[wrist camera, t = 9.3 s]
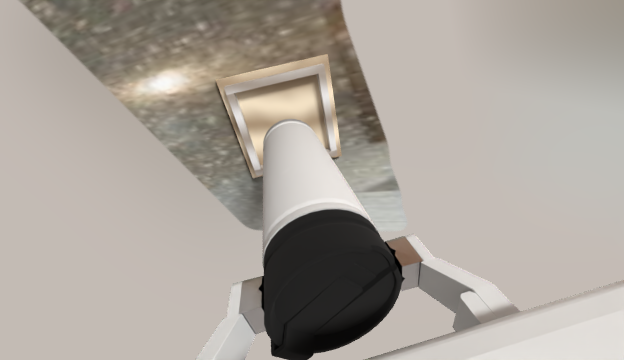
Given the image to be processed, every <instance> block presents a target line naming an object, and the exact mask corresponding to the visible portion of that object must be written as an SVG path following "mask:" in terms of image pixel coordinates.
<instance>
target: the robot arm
mask: <svg viewBox="0 0 624 360" xmlns="http://www.w3.org/2000/svg"><path fill="white" fill-rule="evenodd" d="M385 244H386V245H387V247H388V249H389V250H390V252H391V253H392V255H393V257H394V260H395V264H396V265H397V267H398V269H399V272H400V274H401V277H402V284H401V290H402V291H403V290H407V289H411V288H415V287H418V286H419V288H420V289H422V290H423V291H424V292H426V293H427V294H429V295H430V296H432V297H433V298H434V299H436V300H437V301H439V302H440V303H442V304H443V305H444V306H446V307H447V308H449V309H450V310H451V311H453V312H454V313H456V316H455V320H454V324H453V328H454V330H455V331H456V332H453V333H450V334H446V335H443V336H440V337H437V338H434V339H430V340H427V341H424V342H420V343H417V344H414V345H410V346H408V347H404V348H401V349H397V350H394V351H391V352H388V353H384V354H381V355H378V356H375V357H371V358H368V359H365V360H624V280H622V281H619V282H616V283H613V284H609V285H606V286H603V287H599V288H597V289H593V290H590V291H586V292H583V293H580V294H577V295H573V296H570V297H567V298H564V299H561V300H557V301H554V302H551V303H547V304H544V305H541V306H538V307H534V308H531V309H528V310H525V311H521V312H520V311H519V310H518V309H517V308H516V307H515V306H514V305H513V304H512V303H511V302H510V300H509V299H508V298H506V296H505V295H503V293H502V292H500V291H499V289H498V288H497V287H496V286H495V285H494V284H493V283H491V282H488V281H486V280H484V279H482V278H480V277H478V276H476V275H474V274H471V273H469V272H467V271H465V270H463V269H461V268H459V267H457V266H455V265H453V264H450V263H448V262H446V261H444V260H442V259H440V258H434V257H433V256H432V254H431V253H430V252H429V251H428V250H427V249H426V247H425V246H424V245H423V244H422V243H421V241H420V240H419V239H418V238H417V236H416V235H415V234H410V235H407V236H402V237H399V238H395V239H392V240H389V241H385ZM264 331H266V329H265V326H264V276H261V277H257V278H253V279H249V280H245V281H241V282H238V283H234V284H233V285H232V287H231V292H230V299H229V305H228V312H227V318H224V319H223V320H222V321H221V323H220V324H219V326H218V327H217V329H216V330H215V332H214V333H213V335H212V336H211V338H210V339H209V341H208V342H207V344H206V345H205V346H204V348H203V349H202V351H201V353H200V354H199V355H198V357H197V358H196V360H245V358H246V356H247V353H248V351H249V349H250V347H251V345H252V342H253V340H254V338H255V336H256V335H255V334H257V333H261V332H264Z"/></svg>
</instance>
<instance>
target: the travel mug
mask: <svg viewBox="0 0 624 360" xmlns="http://www.w3.org/2000/svg"><path fill="white" fill-rule="evenodd" d="M263 267H264V326H265V329H266V332H267V334H268V336H269V337H270V338H271V354H272V356H275V357H279V358H283V359H287V360H308V359H309V358H311V357H312V356H313V354H314V353H321V352H326V351H329V350H334V349H337V348H340V347H342V346H345V345H347V344H349V343H351V342H353V341H355V340H357V339H359V338H360V337H362V336H364V335H365V334H367V333H368V332H369V331H371V330H372V329H373V328H374V327H376V326H377V325H378V324H379V323H380V322H381V321H382V320H383V319H384V318H385V317H386V316H387V314H388V313H389V311H390V310H391V309H392V308H393V306H394V304H395V302H396V300H397V298H398V296H399V292H400V290H401V284H402V277H401V274H400V272H399V269H398V267H397V265H396V264H395V260H394V257H393V255H392V253H391V252H390V250H389V249H388V247H387V245H386V244H385V242H384V241H383V240H382V239H381V237H380V235H379V233H378V231H377V229H376V227H375V225H374V223H373V222H372V220H371V219H370V218H369V216H368V214H367V212H366V211H365V209H364V208H363V206H362V205H361V203H360V202H359V200H358V198H357V197H356V195H355V194H354V192H353V191H352V189H351V188H350V186H349V185H348V183H347V181H346V180H345V178H344V177H343V175H342V174H341V172H340V171H339V169H338V168H337V166H336V164H335V163H334V161H333V160H332V158H331V157H330V155H329V154H328V152H327V151H326V149H325V148H324V146H323V144H322V143H321V141H320V140H319V138H318V137H317V135H316V134H315V132H314V131H313V129H312V128H311V127H310V126H309V125H308V124H306V123H305V122H303V121H301V120H297V119H285V120H281V121H279V122H277V123H275V124H274V125H273V126H271V127H270V128H269V130H268V131H267V133H266V135H265V137H264V141H263Z"/></svg>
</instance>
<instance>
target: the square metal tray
mask: <svg viewBox="0 0 624 360" xmlns="http://www.w3.org/2000/svg"><path fill="white" fill-rule="evenodd" d="M216 83H217V85H218V88H219V90H220V93H221V96H222V98H223V101H224V104H225V106H226V109H227V111H228V114H229V117H230V119H231V122H232V124H233V127H234V130H235V132H236V135H237V138H238V140H239V143H240V145H241V148H242V151H243V153H244V156H245V158H246V161H247V164H248V166H249V169H250V172H251V174H252V177H253V178H256V177H260V176H263V141H264V137H265V135H266V133H267V131H268V130H269V128H270V127H271V126H273V125H274V124H275V123H277V122H279V121H281V120H285V119H297V120H301V121H303V122H305V123H306V124H308V125H309V126H310V127H311V128H312V129H313V131H314V132H315V134H316V135H317V137H318V138H319V140H320V141H321V143H322V144H323V146H324V148H325V149H326V151H327V152H328V154H329V155H330V157H331V158H334V157H338V156H342V155H341V148H340V141H339V133H338V126H337V119H336V112H335V104H334V97H333V90H332V83H331V75H330V68H329V61H328V54H325V55H321V56H317V57H312V58H308V59H303V60H299V61H295V62H290V63H286V64H282V65H277V66H273V67H269V68H264V69H260V70H255V71H251V72H247V73H242V74H238V75H234V76H229V77H225V78H221V79H216Z"/></svg>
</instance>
